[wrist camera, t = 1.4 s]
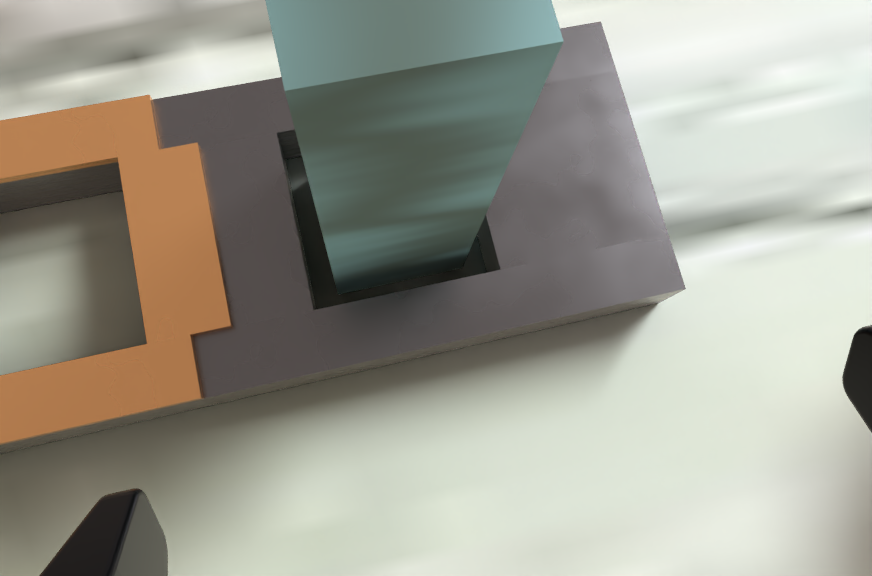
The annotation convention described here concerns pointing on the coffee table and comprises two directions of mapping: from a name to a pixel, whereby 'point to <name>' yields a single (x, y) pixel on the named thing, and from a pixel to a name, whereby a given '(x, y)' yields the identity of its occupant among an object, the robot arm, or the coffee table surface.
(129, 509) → the robot arm
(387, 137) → the peg
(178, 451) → the coffee table surface
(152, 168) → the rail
